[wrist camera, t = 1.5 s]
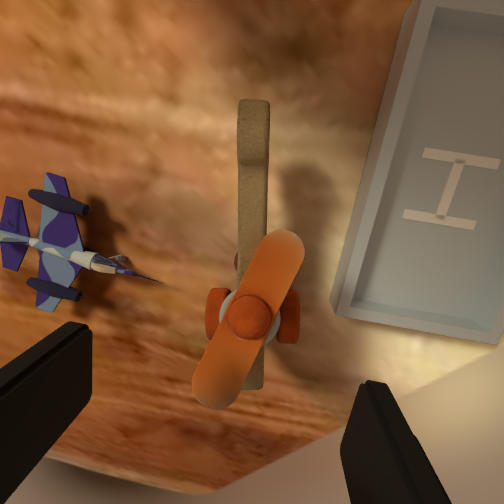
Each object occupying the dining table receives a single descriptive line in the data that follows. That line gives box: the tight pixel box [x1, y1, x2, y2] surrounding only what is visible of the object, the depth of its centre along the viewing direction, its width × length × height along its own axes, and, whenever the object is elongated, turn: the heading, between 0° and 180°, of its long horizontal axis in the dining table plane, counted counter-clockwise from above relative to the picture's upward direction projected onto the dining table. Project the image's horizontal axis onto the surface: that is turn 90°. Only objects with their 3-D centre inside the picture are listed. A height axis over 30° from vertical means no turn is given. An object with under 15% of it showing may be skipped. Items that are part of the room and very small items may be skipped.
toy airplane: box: [0, 173, 161, 312], centre depth 27 cm, size 13×14×4 cm
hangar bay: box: [329, 0, 504, 345], centre depth 23 cm, size 24×14×3 cm, turn 171°
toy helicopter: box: [192, 99, 305, 409], centre depth 20 cm, size 8×21×14 cm, turn 0°
